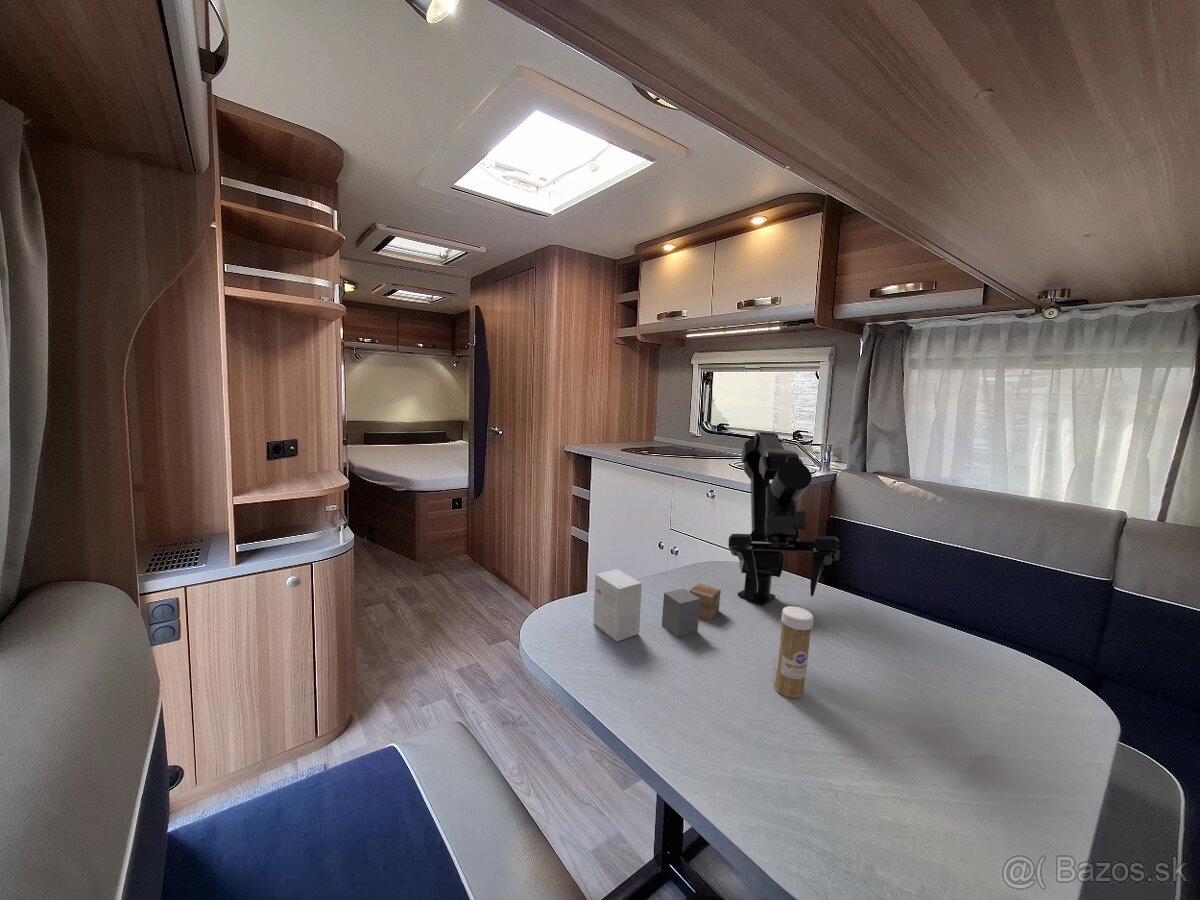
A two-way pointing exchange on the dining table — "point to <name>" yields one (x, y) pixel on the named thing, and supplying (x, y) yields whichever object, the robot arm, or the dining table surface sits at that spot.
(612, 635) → the small box
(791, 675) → the sprinkles bottle
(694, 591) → the walnut cube
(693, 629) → the gray block
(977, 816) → the dining table surface
